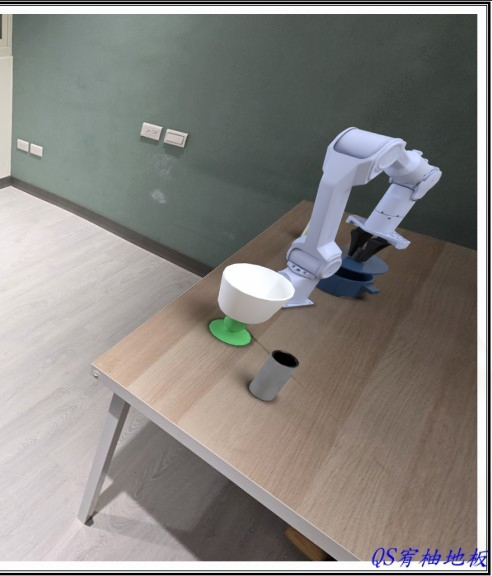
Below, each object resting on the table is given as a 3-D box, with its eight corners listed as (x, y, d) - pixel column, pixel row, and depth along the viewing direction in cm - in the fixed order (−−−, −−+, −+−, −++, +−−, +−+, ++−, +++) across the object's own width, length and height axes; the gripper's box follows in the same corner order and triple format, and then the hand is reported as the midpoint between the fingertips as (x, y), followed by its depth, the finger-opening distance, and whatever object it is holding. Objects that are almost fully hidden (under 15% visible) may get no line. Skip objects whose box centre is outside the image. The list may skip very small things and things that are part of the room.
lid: (354, 278, 96) (365, 264, 93) (311, 251, 106) (320, 237, 103) (399, 274, 97) (411, 259, 94) (352, 247, 108) (362, 233, 105)
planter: (251, 379, 80) (273, 346, 74) (275, 390, 78) (301, 357, 71) (246, 393, 77) (269, 359, 71) (271, 405, 75) (298, 371, 68)
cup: (186, 319, 95) (209, 267, 85) (231, 309, 98) (258, 259, 88) (227, 358, 85) (258, 305, 75) (275, 347, 87) (311, 294, 78)
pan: (345, 307, 99) (357, 291, 96) (292, 269, 113) (301, 254, 110) (385, 302, 101) (398, 286, 97) (328, 265, 114) (338, 250, 111)
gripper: (435, 224, 87) (396, 272, 96) (375, 198, 99) (345, 243, 107) (409, 226, 86) (372, 274, 95) (352, 200, 98) (323, 245, 106)
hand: (356, 258), depth 101 cm, fingers closed on lid, 2 cm apart
